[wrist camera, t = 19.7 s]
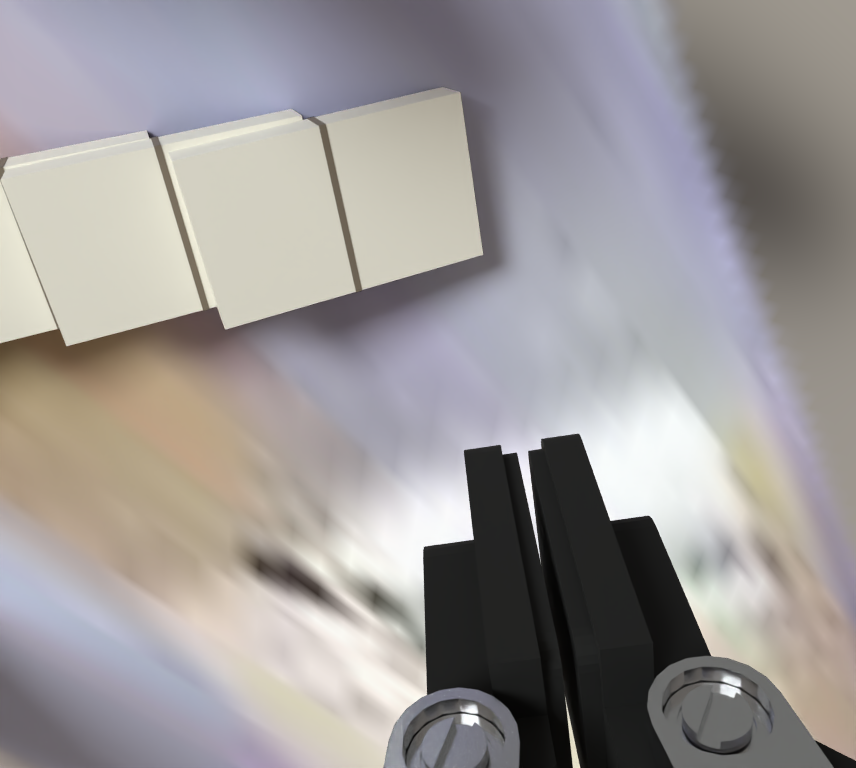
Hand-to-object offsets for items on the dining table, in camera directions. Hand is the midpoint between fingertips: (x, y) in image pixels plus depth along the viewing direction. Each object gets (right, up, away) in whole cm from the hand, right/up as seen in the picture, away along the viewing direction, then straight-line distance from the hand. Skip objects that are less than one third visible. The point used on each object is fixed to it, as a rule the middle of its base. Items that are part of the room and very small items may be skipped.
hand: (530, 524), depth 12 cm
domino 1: (0, +10, +19) cm, 21 cm away
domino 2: (-6, +9, +19) cm, 22 cm away
